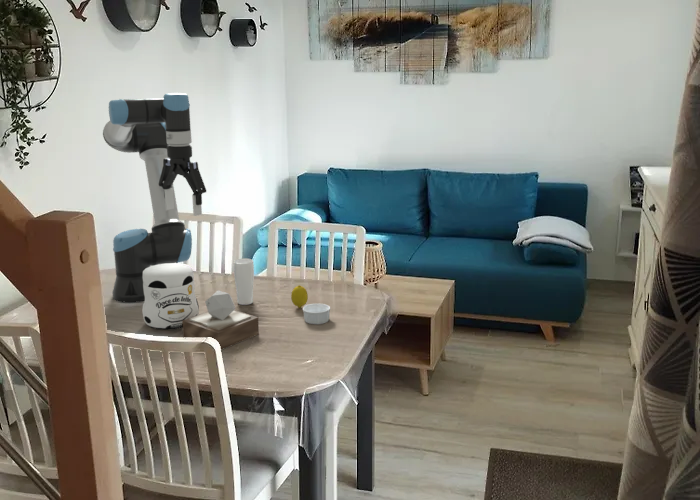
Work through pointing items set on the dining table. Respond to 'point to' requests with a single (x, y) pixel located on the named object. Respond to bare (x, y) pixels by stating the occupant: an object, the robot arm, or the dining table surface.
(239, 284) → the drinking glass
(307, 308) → the ramekin
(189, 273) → the milk container
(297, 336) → the dining table surface
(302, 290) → the lemon
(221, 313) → the die
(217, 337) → the plinth
